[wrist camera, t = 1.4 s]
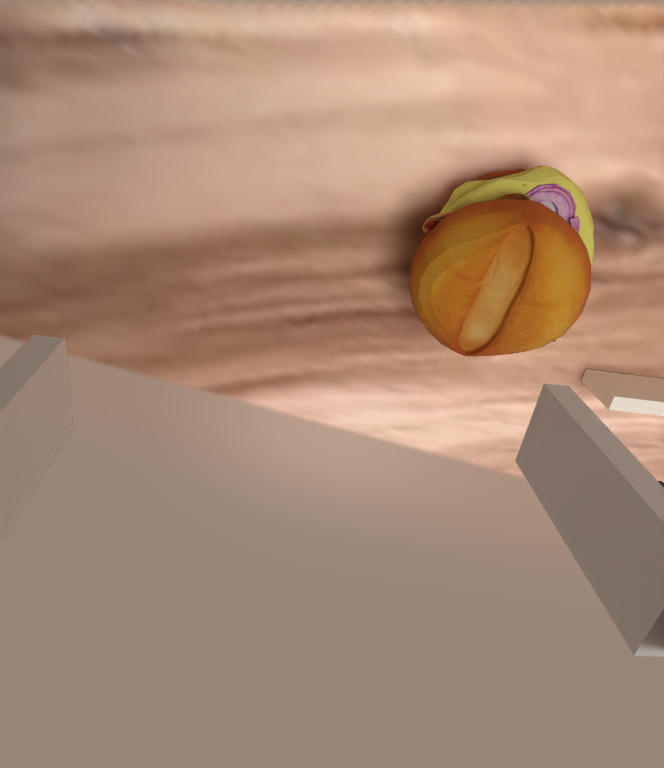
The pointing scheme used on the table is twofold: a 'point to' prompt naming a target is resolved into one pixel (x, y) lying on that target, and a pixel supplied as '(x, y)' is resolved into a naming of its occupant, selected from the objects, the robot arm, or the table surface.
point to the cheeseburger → (505, 263)
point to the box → (626, 391)
